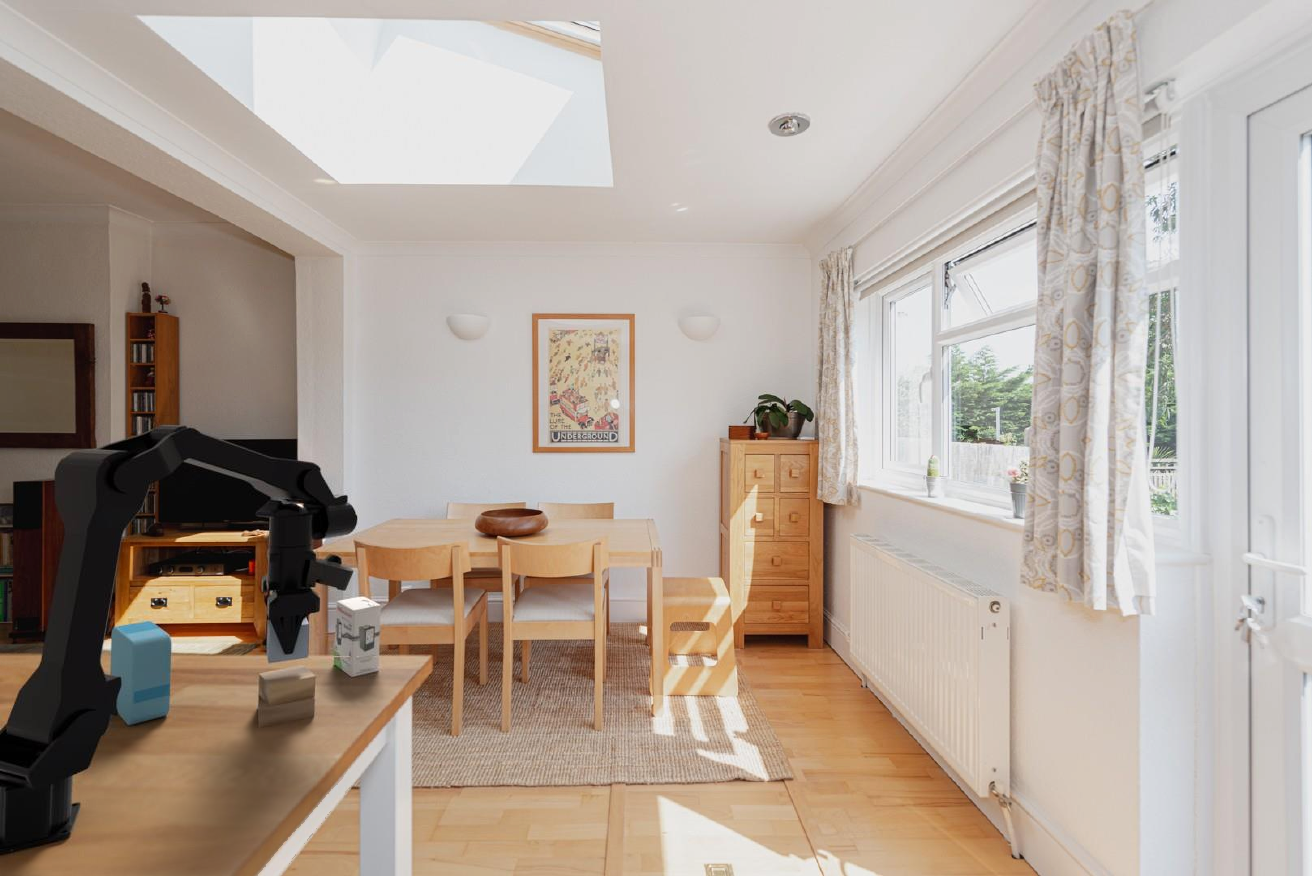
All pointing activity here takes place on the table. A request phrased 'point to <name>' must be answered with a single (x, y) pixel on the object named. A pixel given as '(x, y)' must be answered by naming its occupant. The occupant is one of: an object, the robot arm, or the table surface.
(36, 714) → the robot arm
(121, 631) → the data package
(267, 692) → the upper slab
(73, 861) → the table surface
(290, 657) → the blue cube
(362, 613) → the ink box
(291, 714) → the lower slab
